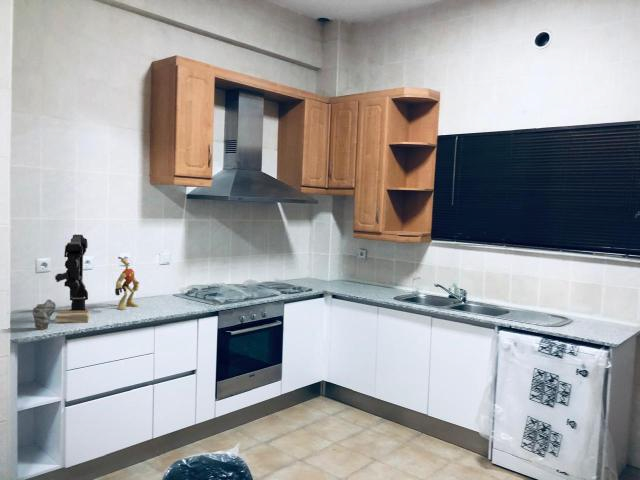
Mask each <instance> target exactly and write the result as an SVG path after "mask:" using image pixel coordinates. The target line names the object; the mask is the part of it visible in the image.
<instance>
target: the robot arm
mask: <svg viewBox="0 0 640 480" xmlns="http://www.w3.org/2000/svg"><path fill="white" fill-rule="evenodd" d="M88 244H89V243H88V239H87V238H86V237H84V235H83V234H73V235H72V237H71V239H70V241H69V242H67V243H66V245H65V247H64V253H63V255H64V256H63V257H64V258H66V259H67V260H66V261H65V262H64V267H65V269H66V271H65V272H62V273H56V275H55V276H54V279H55V281H56V283H60V282H61V281H64V280H65V281H64V287H68V288H69V301H71V304H70V305H71V308H70V309H69V311H88V309H87V308H86V301H87V300H89V292H88V290H87V289H86V285H85V283H84V282H83V275H84V274H83V273H84V256H85V253H87V249H88V246H89V245H88Z"/></svg>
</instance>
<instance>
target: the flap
mask: <svg viewBox="0 0 640 480" xmlns="http://www.w3.org/2000/svg"><path fill="white" fill-rule="evenodd" d="M88 312H89V310H85V311H70V310H59V311H58V312H57V314H58V313H88Z"/></svg>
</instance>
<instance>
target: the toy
mask: <svg viewBox="0 0 640 480" xmlns="http://www.w3.org/2000/svg"><path fill="white" fill-rule="evenodd" d="M119 259H120V262H121V263H122V264H123V265H124V266H125V269H124V270H123V271H122V272H121V273H120V276H119V277H118V278H117V281H116V283H115V289H114V290H115V291H114V293H115V296H118V297H119V296H120V294H122V292H123V293H124V295H123V296H122V298H121V299H120V300H119V302H118V305H117V308H118V310H120V311H122V310H123V311H124V310H127V307H134V308H135V307H140V305H139V304H137V303H135V302H134V301H133V298H134V295H135V292H137V291H139V287H140V282H139V281H138V280H137V279H136V277H135V275H136V272H135V271H134V269H133V268H129V264H130V263H129V262H128V260H127V259H126V257H121V256H118V257H117V260H119ZM122 282H123V284H122ZM130 284H132V285H133V287H131V286H130ZM128 291H129V292H130V294H129V295H128ZM127 296H128V297H127ZM125 302H126V303H125Z"/></svg>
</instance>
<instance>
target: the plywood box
mask: <svg viewBox="0 0 640 480" xmlns="http://www.w3.org/2000/svg"><path fill="white" fill-rule="evenodd" d="M90 313H91V312H90V311H88V313H58V312H57V314H56V315H55V321H54V324H81V323H83V324H85V323H89V321H90V317H91V316H90Z"/></svg>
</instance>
